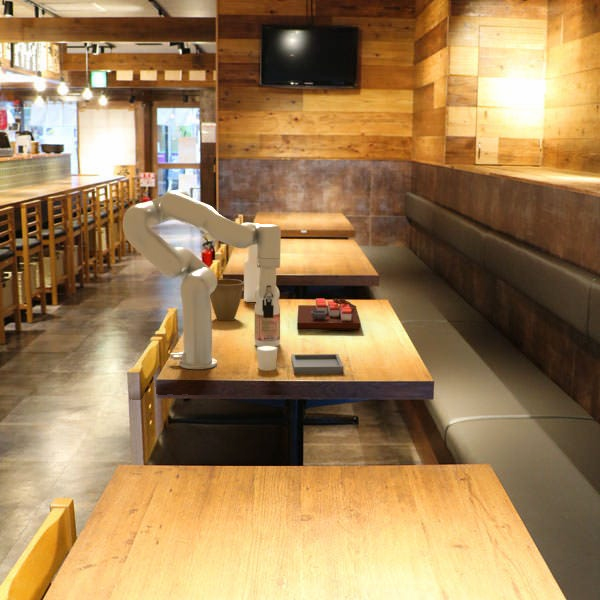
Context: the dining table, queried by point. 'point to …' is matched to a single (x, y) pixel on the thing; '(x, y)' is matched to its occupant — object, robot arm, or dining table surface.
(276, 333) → the fruit juice
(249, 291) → the alcohol
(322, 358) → the serving tray
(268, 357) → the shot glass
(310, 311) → the sushi
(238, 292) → the plant pot
